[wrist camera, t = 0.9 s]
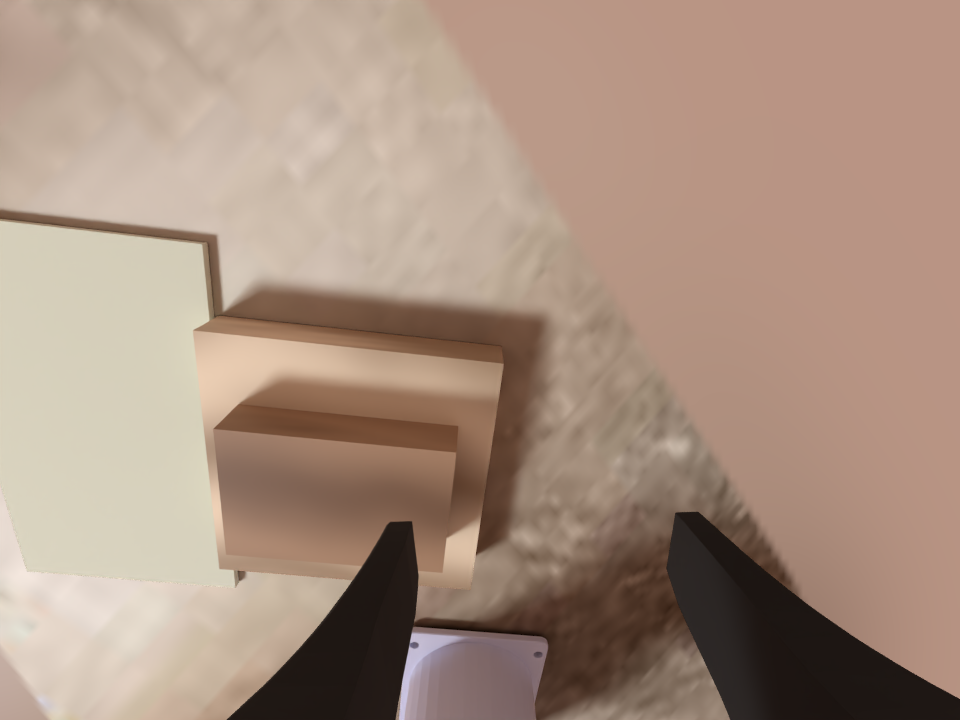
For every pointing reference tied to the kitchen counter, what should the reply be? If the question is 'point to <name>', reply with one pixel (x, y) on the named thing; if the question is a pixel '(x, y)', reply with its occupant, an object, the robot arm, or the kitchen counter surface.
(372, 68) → the kitchen counter surface
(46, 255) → the sage mat
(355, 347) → the block
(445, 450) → the walnut tile
